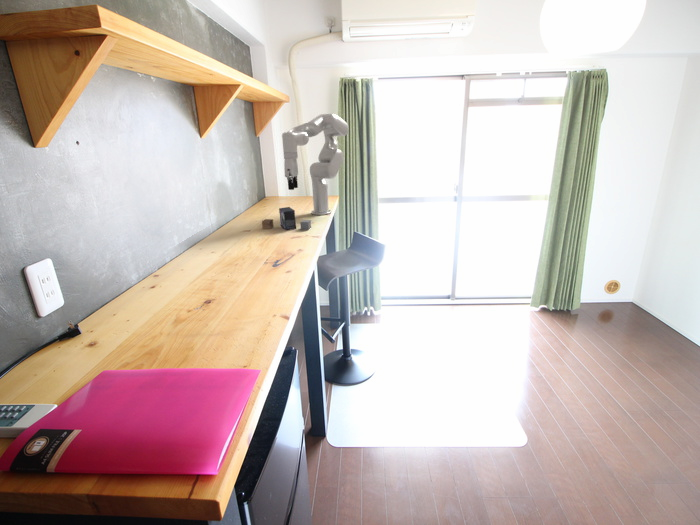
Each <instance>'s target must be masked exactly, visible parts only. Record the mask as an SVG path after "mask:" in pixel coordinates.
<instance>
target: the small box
mask: <svg viewBox="0 0 700 525" xmlns="http://www.w3.org/2000/svg"><path fill="white" fill-rule="evenodd" d="M278 210H279V220H280V227H281V228H283V229H284V230H285V231H291V230H290V229H292V230H297V226H296V225H297V224H296V216H295V215H296V213H295V212H296V211H295V210H294V209H293V208H291V207H290V206H286V207H279V208H278Z"/></svg>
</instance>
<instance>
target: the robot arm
mask: <svg viewBox="0 0 700 525" xmlns="http://www.w3.org/2000/svg"><path fill="white" fill-rule="evenodd" d="M349 128H350V127H349V125H348V123H347V122H346V121H345V120H344V119H343V118H341V117H340V116H339V115H337V114H335V113H322V114H319V115H317V116H316V117H313V119H311V120H310V121H308V122H306V123H303V124H299V125H297V126H295V127H293V128H291V129H289V130H287V131H286V132H283V133H282V134H281V139H282V140H281V141H282V150H283V160H284V163H283V164H284V177H285V178H286V179H287V187H288V190H289V191H290V190H291V191H294V190H295V189H298V188H299V187H298V186H299V183H298V175H299V168H298V166H299V165H298V160H297V159H298V147H297V146H302V147H303V146H306V145H307V144H308V143H309V141H310V138H313V137H316V136H318V135H319V134H320V133H322V132H323V137H324V143H323V144H324V145H323V146H322V148H321V150H320V152H319V154H318V161H317V162H313V163H312V164H310V166H309V175H310V179H311V185H312V201H313V210H311V214H312V215H314V216H326V215H330V214H331V213H332V210H330V209H329V208H330V207H329V191H328V182H327V180H329V179H330V180H332V179H334V178H335V177H336V176H337V175H338V173H339V170H340V168H341V166H342V164H343V161H344V153H343V151H342V150H341V149H338V145H339V144H338V142H337V140H336V138H335V137H345V136H347V135H348V134H349V131H350V129H349ZM326 179H327V180H326Z"/></svg>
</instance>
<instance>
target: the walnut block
mask: <svg viewBox="0 0 700 525" xmlns="http://www.w3.org/2000/svg"><path fill="white" fill-rule="evenodd" d="M261 225H262V229H263V230H272V229H273V228H274V219H272V218H271V219H269V218H268V219H267V218H266V219H262V221H261Z"/></svg>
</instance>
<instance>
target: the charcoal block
mask: <svg viewBox="0 0 700 525" xmlns="http://www.w3.org/2000/svg"><path fill="white" fill-rule="evenodd" d="M299 225H300V230H301V231H310V230H311V229H312V220H311V219H302V220H300V222H299ZM310 228H311V229H310ZM309 229H310V230H309Z"/></svg>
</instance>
